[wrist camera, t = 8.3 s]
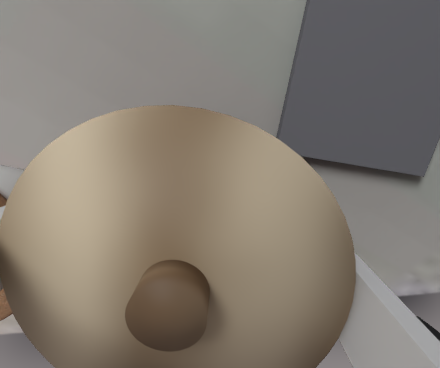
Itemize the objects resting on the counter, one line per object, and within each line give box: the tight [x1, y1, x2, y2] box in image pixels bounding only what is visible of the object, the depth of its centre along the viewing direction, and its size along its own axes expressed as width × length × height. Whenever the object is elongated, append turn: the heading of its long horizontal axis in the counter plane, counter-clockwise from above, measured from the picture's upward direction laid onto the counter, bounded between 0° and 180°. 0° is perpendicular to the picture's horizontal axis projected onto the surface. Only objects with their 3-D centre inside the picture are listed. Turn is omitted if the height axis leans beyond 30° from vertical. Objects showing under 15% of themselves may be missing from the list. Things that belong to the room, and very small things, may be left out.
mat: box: [276, 0, 440, 177], centre depth 18 cm, size 12×12×1 cm
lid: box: [0, 105, 356, 368], centre depth 9 cm, size 12×12×4 cm
